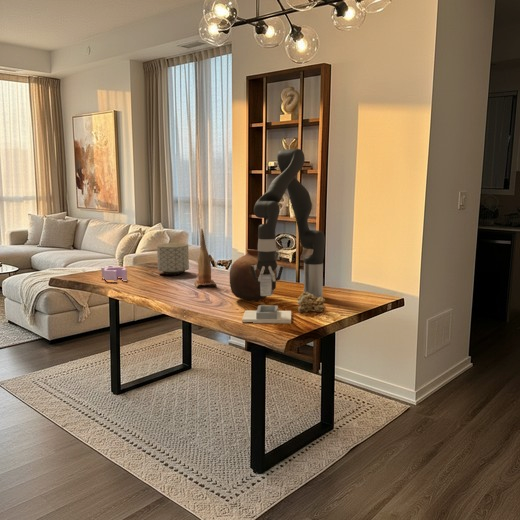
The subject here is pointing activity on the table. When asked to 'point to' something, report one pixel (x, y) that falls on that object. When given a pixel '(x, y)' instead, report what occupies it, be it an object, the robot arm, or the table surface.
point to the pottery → (246, 277)
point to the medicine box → (266, 285)
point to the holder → (267, 315)
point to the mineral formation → (310, 303)
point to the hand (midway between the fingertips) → (267, 289)
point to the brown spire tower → (204, 265)
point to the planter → (173, 258)
